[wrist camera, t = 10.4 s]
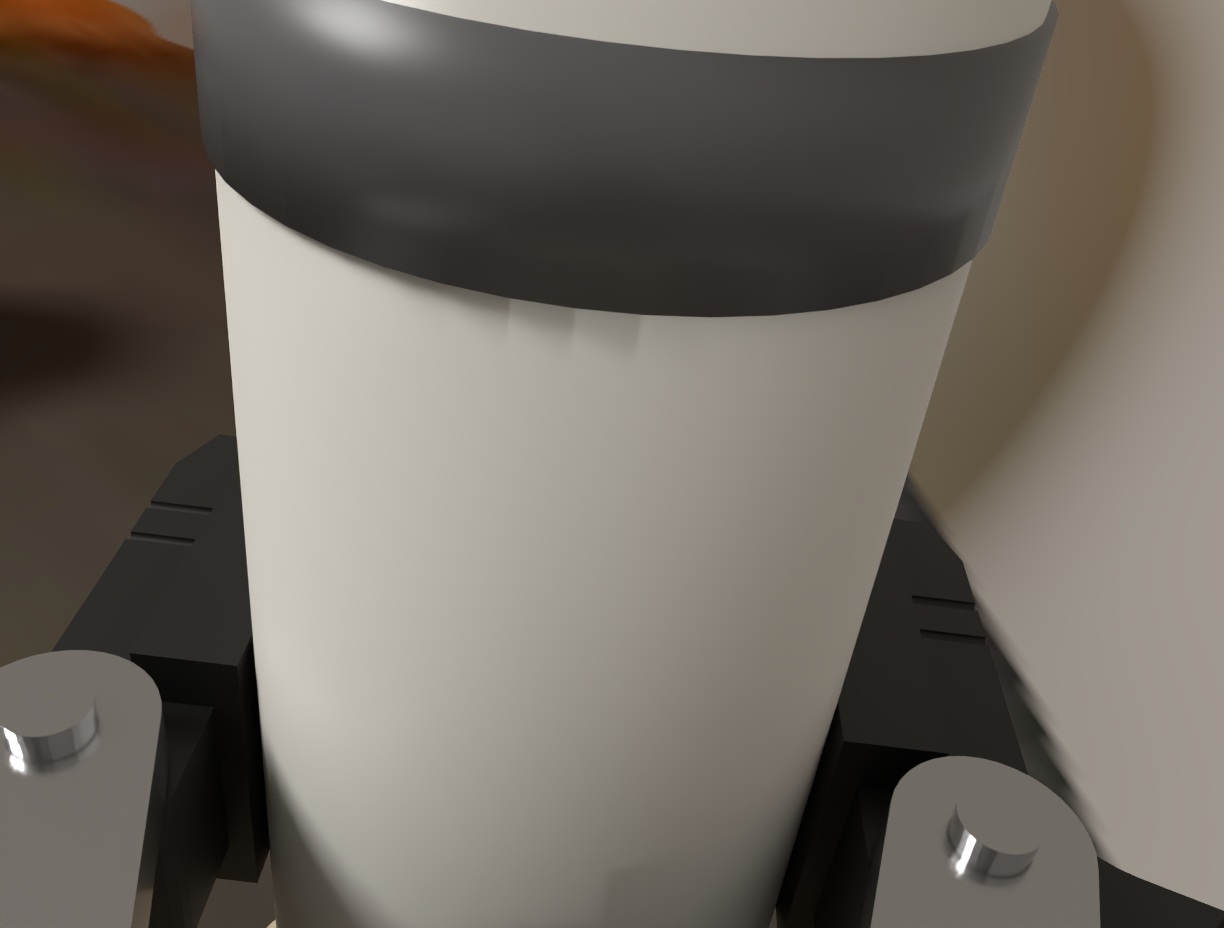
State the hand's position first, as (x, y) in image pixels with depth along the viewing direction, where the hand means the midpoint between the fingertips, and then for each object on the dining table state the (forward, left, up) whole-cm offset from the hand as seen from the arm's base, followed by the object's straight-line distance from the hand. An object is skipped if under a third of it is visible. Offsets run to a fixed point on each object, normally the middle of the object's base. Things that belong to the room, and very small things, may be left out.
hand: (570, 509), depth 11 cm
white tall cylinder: (-2, -1, -9) cm, 9 cm away
